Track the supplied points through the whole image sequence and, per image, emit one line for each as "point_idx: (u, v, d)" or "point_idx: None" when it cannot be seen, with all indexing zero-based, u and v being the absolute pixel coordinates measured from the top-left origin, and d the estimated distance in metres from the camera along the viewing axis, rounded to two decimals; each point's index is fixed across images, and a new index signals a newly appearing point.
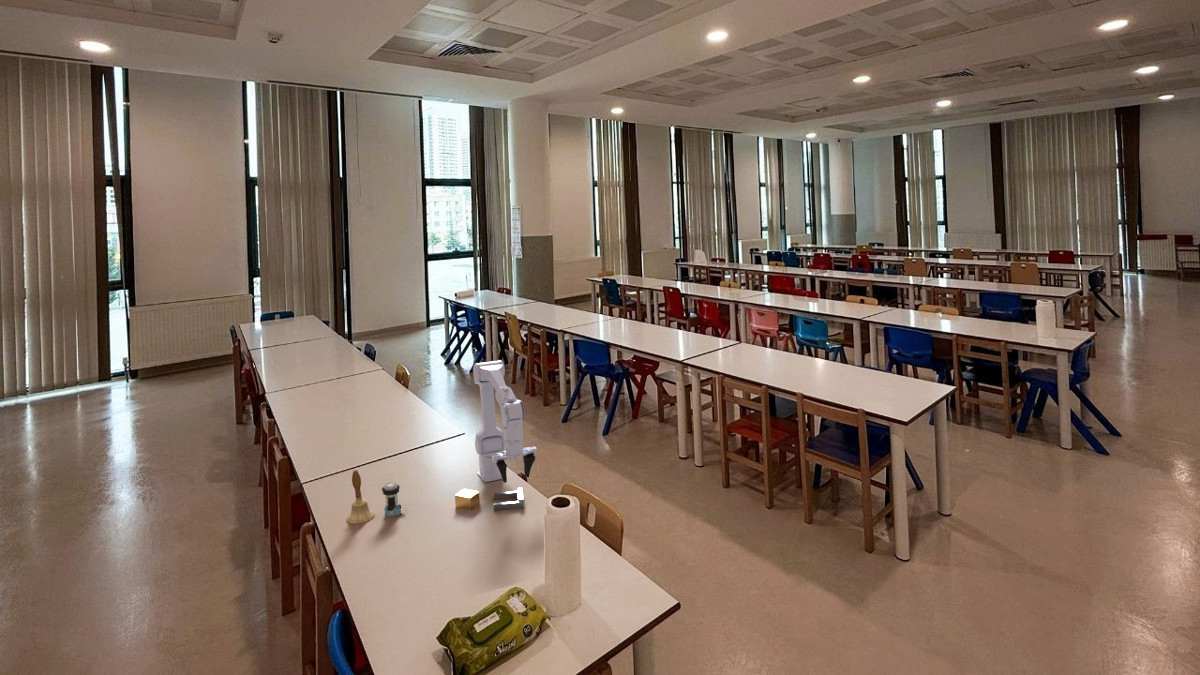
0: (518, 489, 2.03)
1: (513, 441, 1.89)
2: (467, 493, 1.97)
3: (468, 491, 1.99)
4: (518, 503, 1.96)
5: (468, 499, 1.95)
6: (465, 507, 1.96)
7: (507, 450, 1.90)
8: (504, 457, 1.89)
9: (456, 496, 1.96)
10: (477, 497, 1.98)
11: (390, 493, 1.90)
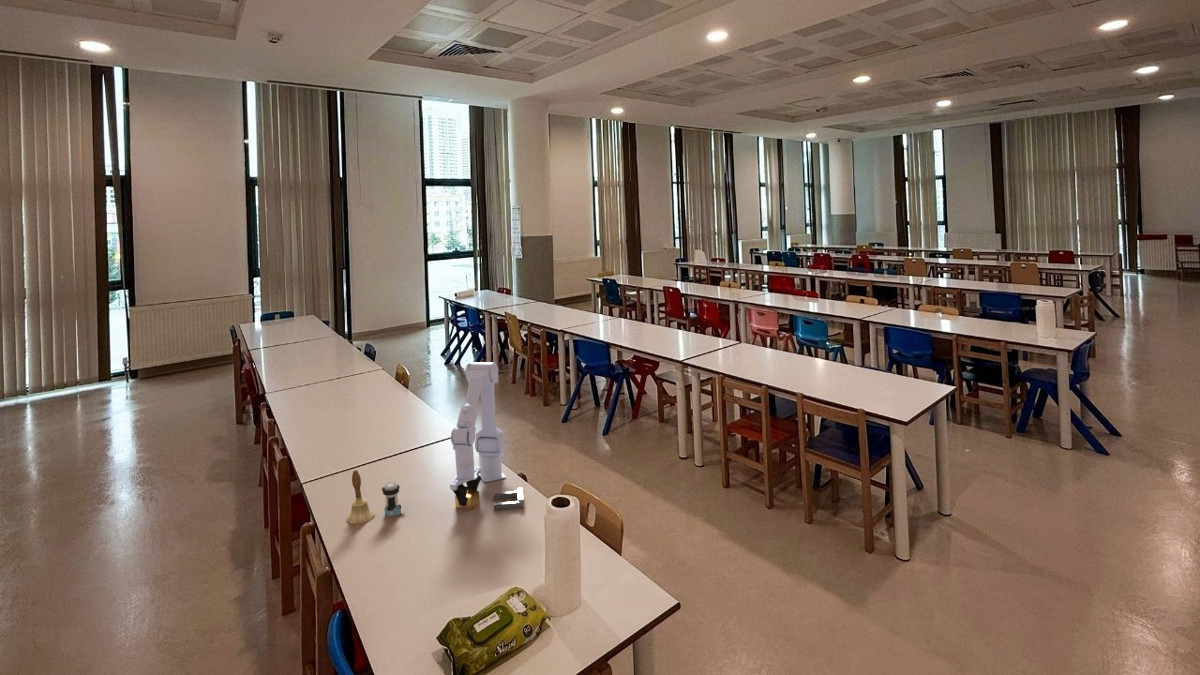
0: (518, 489, 2.03)
1: (469, 464, 1.94)
2: (467, 493, 1.97)
3: (468, 491, 1.99)
4: (518, 503, 1.96)
5: (468, 498, 1.95)
6: (465, 507, 1.96)
7: (463, 474, 1.93)
8: (463, 482, 1.92)
9: None
10: (477, 497, 1.98)
11: (390, 493, 1.90)
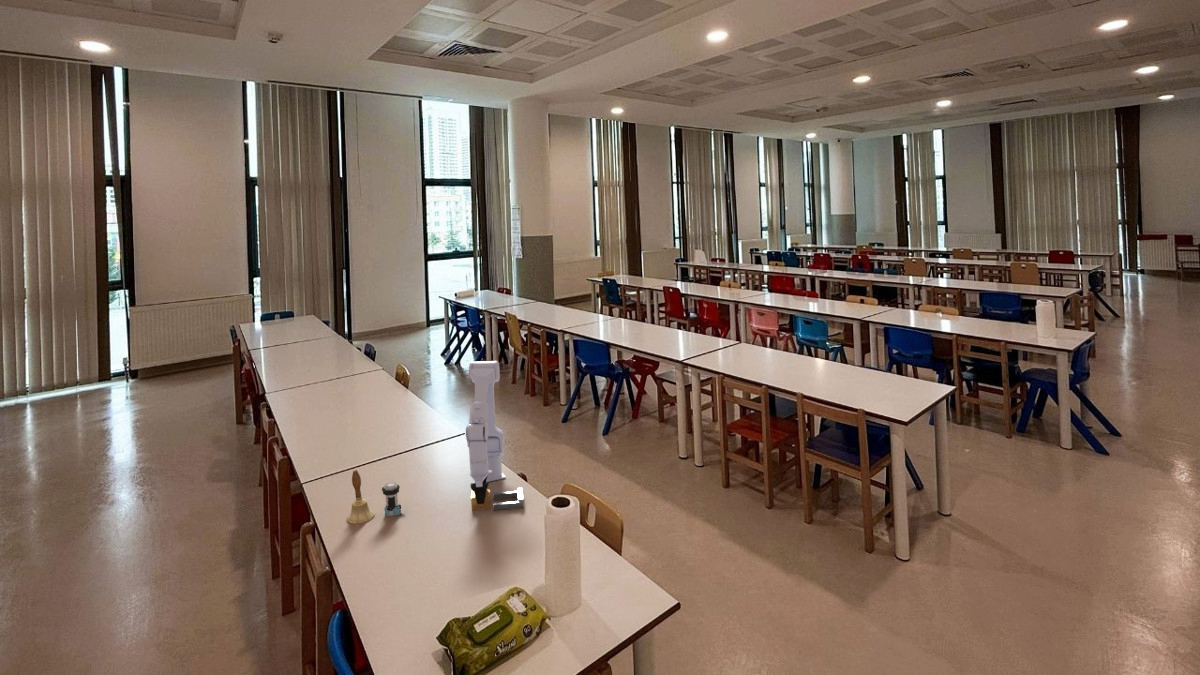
0: (518, 489, 2.03)
1: (486, 459, 1.94)
2: None
3: None
4: (518, 503, 1.96)
5: (487, 498, 1.95)
6: (483, 507, 1.96)
7: (482, 471, 1.93)
8: (484, 477, 1.92)
9: (473, 498, 1.95)
10: None
11: (390, 493, 1.90)
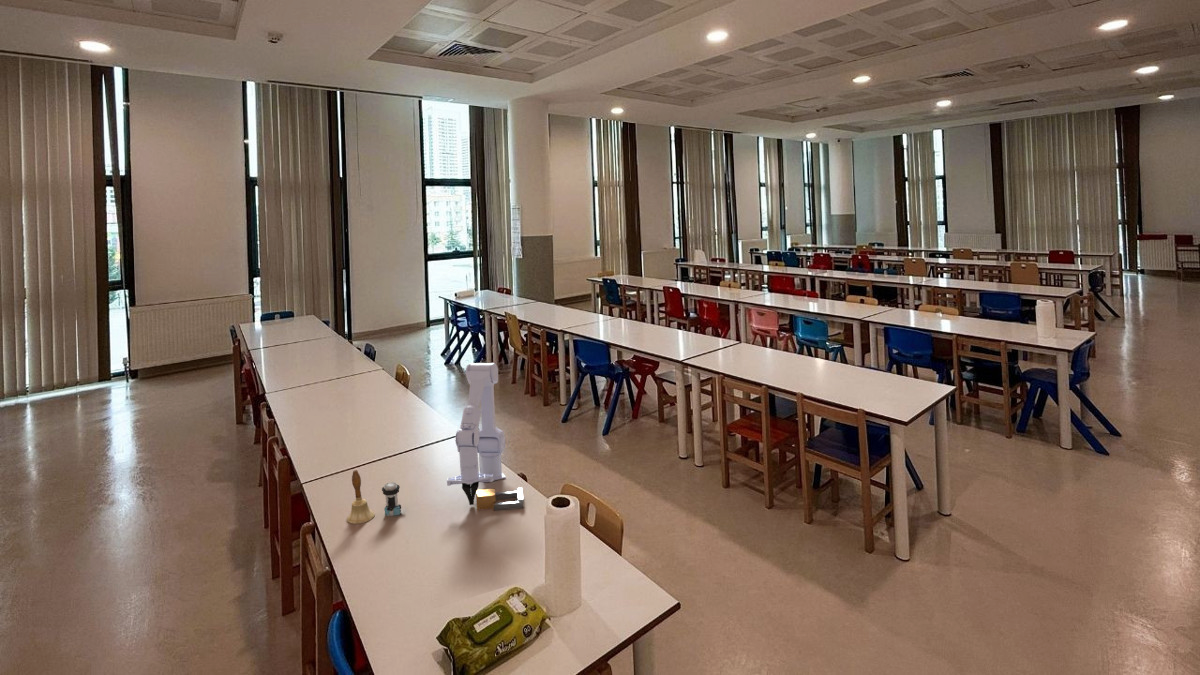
0: (518, 489, 2.03)
1: (465, 467, 1.92)
2: (487, 492, 1.97)
3: (484, 491, 1.99)
4: (518, 503, 1.96)
5: (492, 497, 1.96)
6: (488, 506, 1.96)
7: (461, 475, 1.94)
8: (457, 481, 1.94)
9: (478, 497, 1.95)
10: None
11: (390, 493, 1.90)
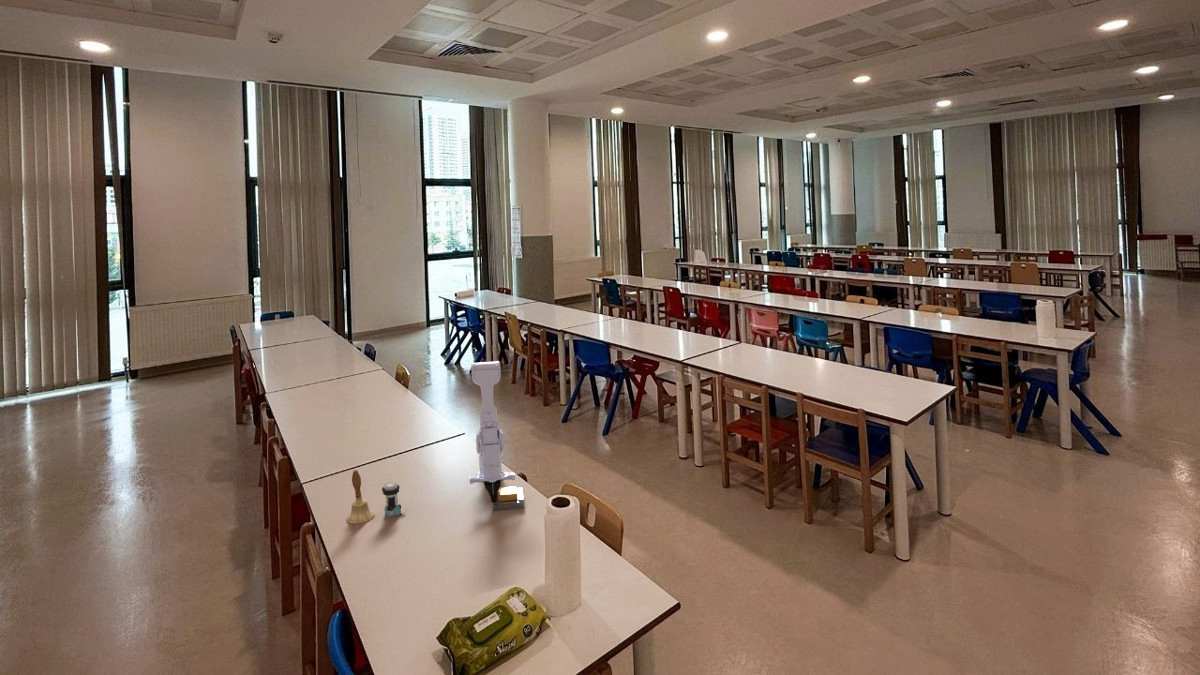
0: (518, 489, 2.03)
1: (487, 465, 1.93)
2: (509, 490, 1.98)
3: (506, 489, 2.00)
4: (518, 503, 1.96)
5: (514, 495, 1.97)
6: None
7: (483, 473, 1.95)
8: (479, 479, 1.95)
9: (500, 495, 1.96)
10: None
11: (390, 493, 1.90)
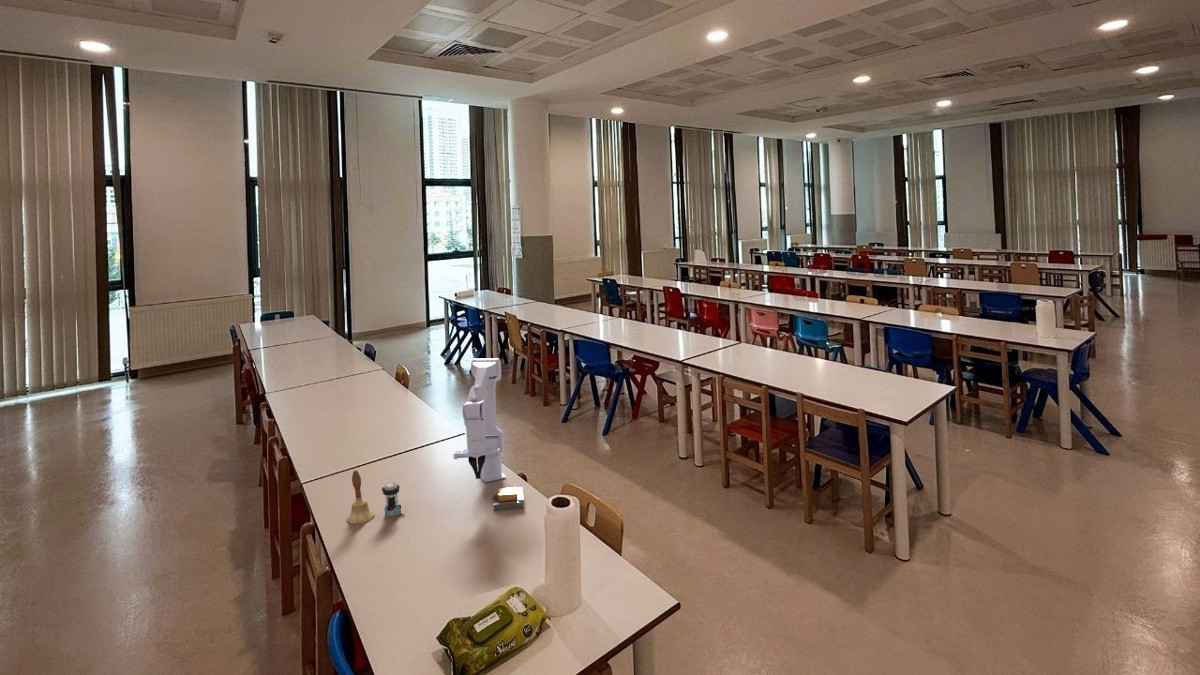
0: (518, 489, 2.03)
1: (471, 440, 1.91)
2: (509, 491, 1.98)
3: (506, 489, 2.00)
4: (518, 503, 1.96)
5: (514, 495, 1.97)
6: None
7: (467, 448, 1.93)
8: (463, 455, 1.92)
9: (500, 496, 1.96)
10: None
11: (390, 493, 1.90)
